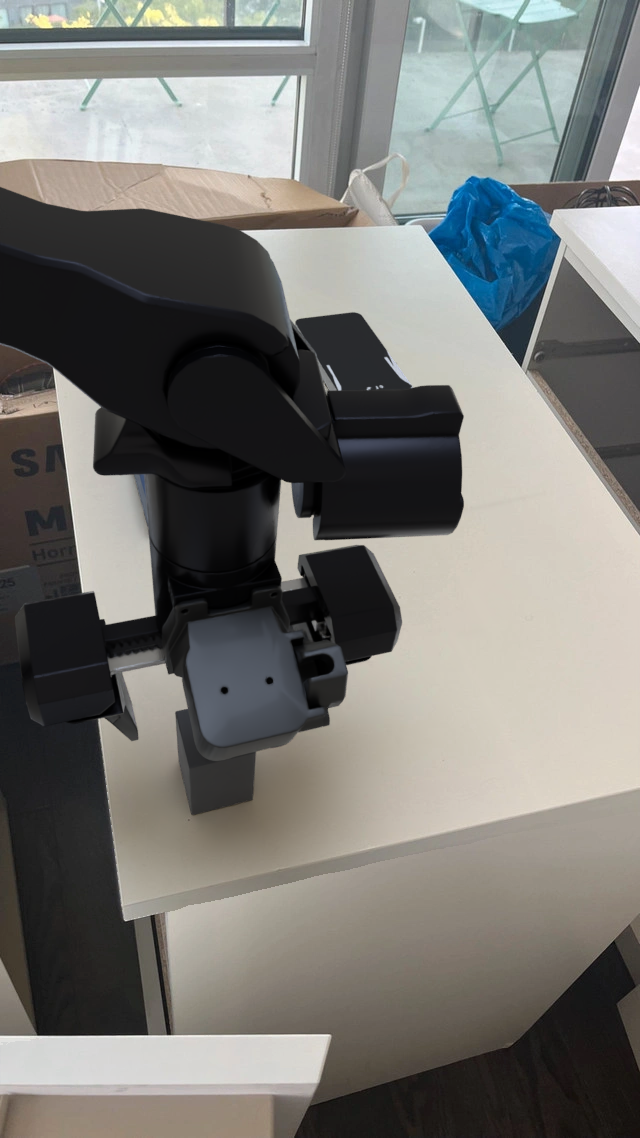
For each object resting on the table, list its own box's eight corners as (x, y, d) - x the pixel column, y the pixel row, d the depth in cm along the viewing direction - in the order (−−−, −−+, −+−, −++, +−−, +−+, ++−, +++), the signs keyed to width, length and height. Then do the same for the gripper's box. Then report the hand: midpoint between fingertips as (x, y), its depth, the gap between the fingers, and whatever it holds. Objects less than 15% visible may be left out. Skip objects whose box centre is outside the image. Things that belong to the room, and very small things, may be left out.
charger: (191, 815, 53) (189, 768, 49) (178, 761, 56) (174, 710, 51) (254, 799, 54) (257, 751, 50) (238, 746, 57) (240, 696, 52)
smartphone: (359, 311, 93) (416, 391, 83) (357, 322, 94) (413, 402, 84) (293, 319, 90) (344, 402, 81) (292, 330, 91) (342, 413, 82)
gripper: (9, 722, 30) (65, 893, 42) (477, 623, 35) (412, 799, 47) (-12, 510, 37) (41, 707, 49) (382, 453, 42) (346, 643, 54)
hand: (213, 716), depth 49 cm, fingers open, 9 cm apart
